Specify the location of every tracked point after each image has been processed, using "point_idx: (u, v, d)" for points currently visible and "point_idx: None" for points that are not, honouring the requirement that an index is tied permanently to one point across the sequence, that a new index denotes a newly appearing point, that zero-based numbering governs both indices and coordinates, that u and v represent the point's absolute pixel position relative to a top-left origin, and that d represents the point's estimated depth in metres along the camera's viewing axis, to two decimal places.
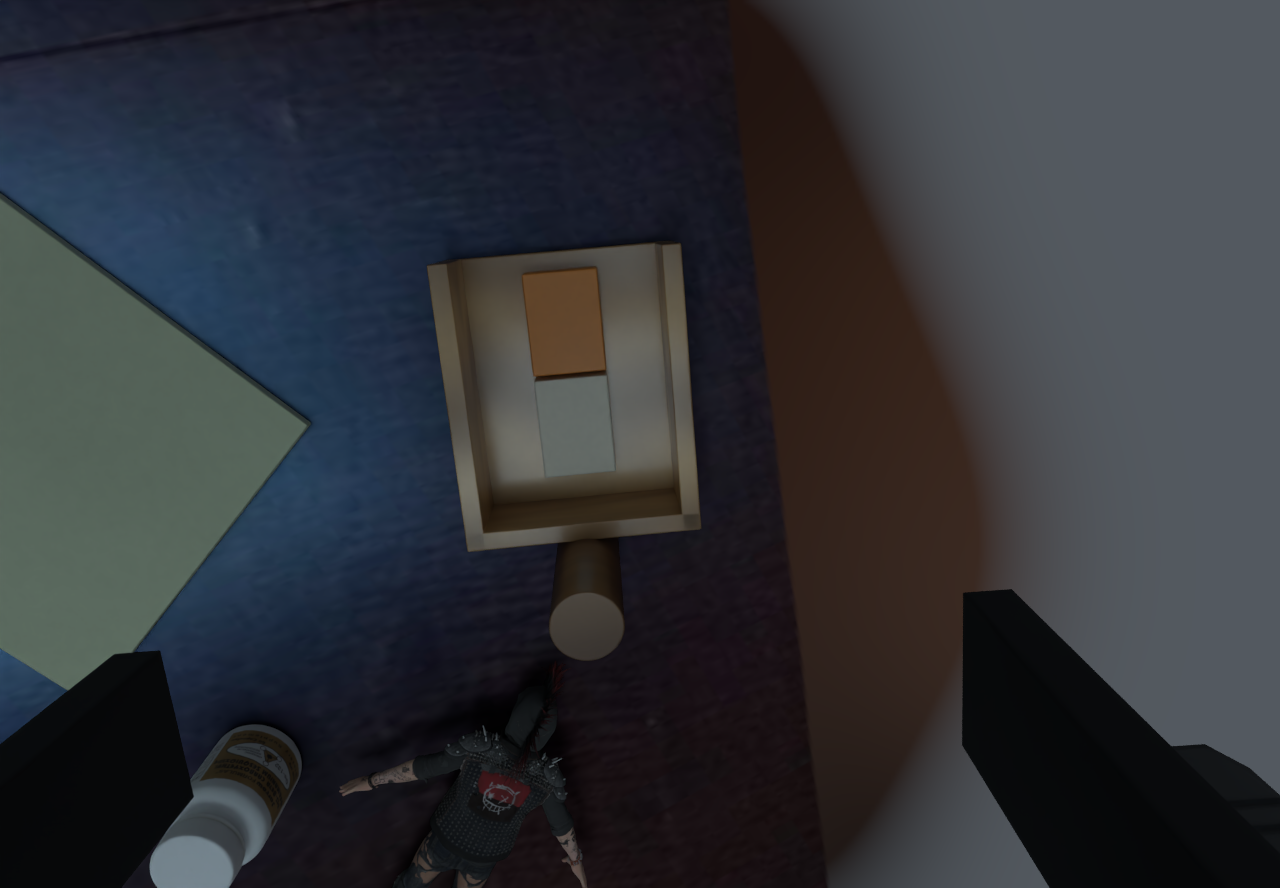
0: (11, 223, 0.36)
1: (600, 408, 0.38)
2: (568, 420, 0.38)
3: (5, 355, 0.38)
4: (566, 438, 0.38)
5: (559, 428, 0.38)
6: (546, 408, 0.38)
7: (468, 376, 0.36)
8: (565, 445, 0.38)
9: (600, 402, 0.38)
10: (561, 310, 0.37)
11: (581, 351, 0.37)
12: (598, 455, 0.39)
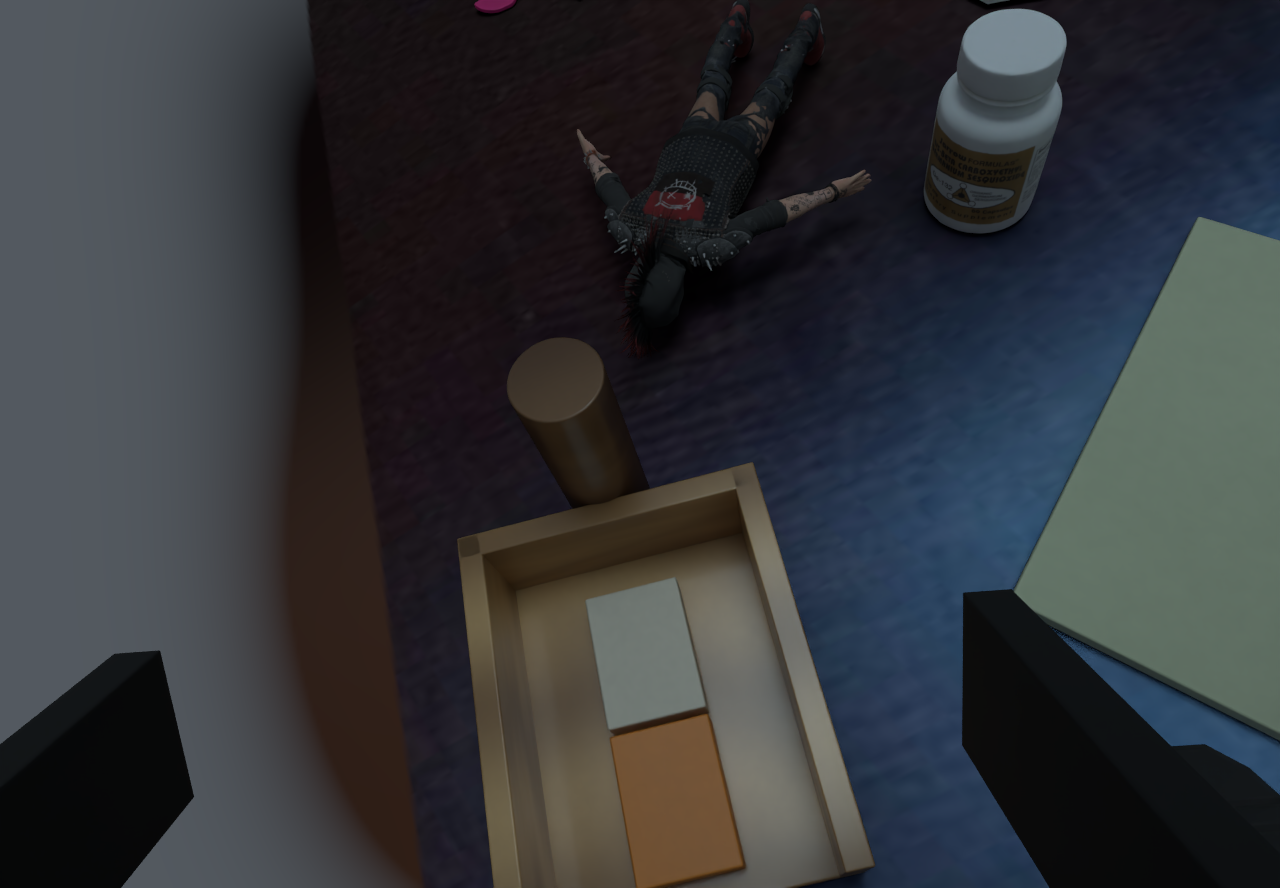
0: None
1: (612, 681, 0.28)
2: (653, 658, 0.28)
3: None
4: (652, 633, 0.28)
5: (664, 645, 0.28)
6: (684, 670, 0.28)
7: (793, 700, 0.26)
8: (653, 623, 0.29)
9: (612, 690, 0.28)
10: (679, 817, 0.26)
11: (645, 759, 0.27)
12: (609, 616, 0.29)
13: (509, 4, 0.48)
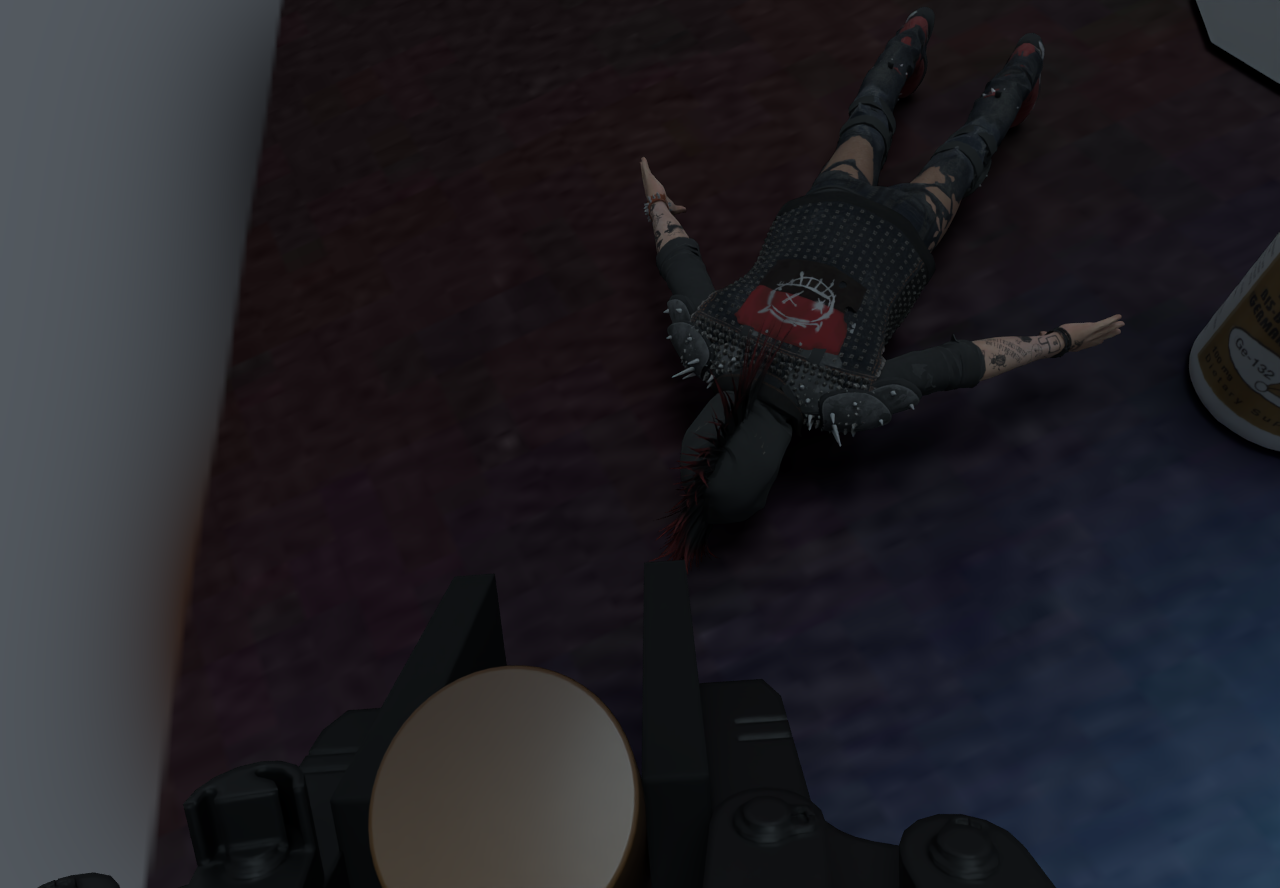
0: None
1: None
2: None
3: None
4: None
5: None
6: None
7: None
8: None
9: None
10: None
11: None
12: None
13: None
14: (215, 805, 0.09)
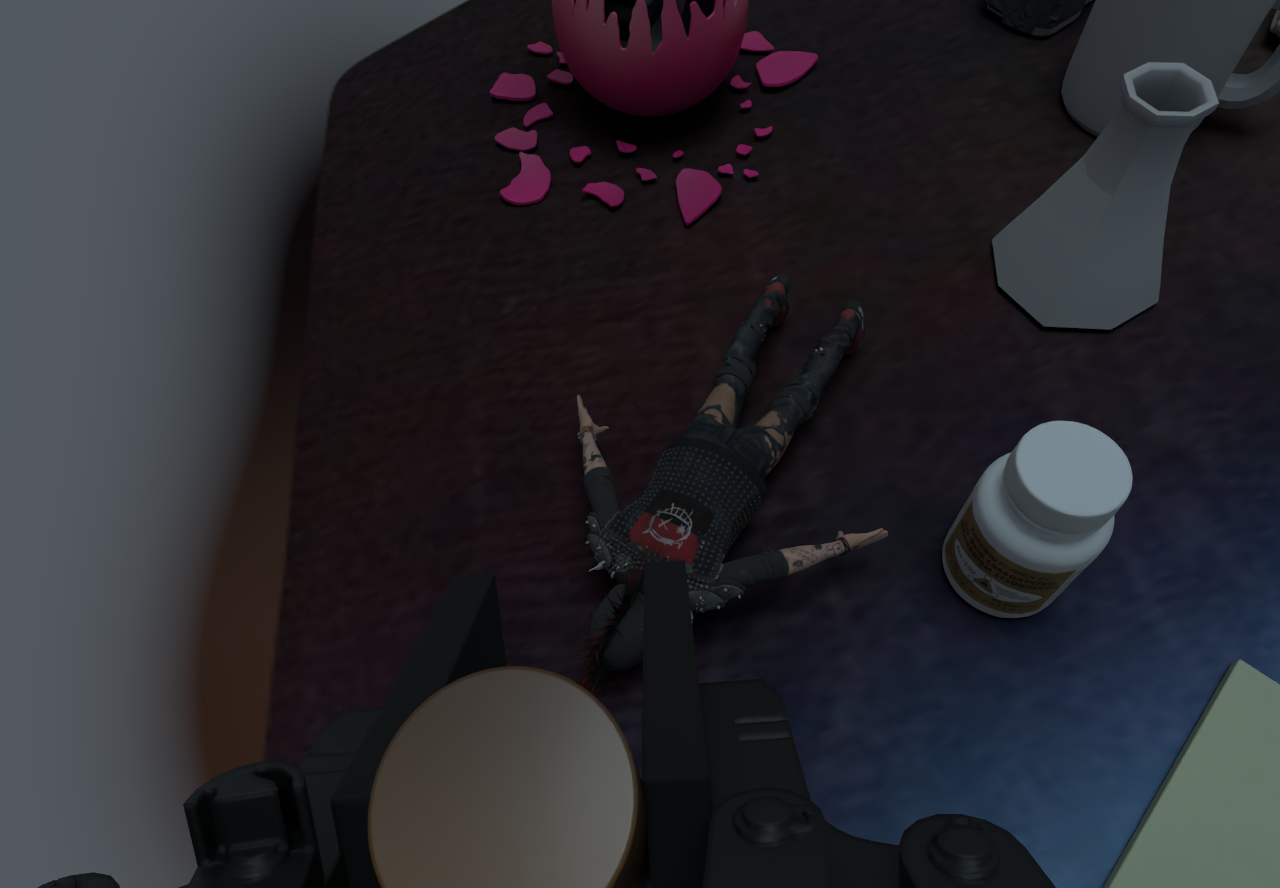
0: None
1: None
2: None
3: None
4: None
5: None
6: None
7: None
8: None
9: None
10: None
11: None
12: None
13: (537, 199, 0.45)
14: (215, 805, 0.09)
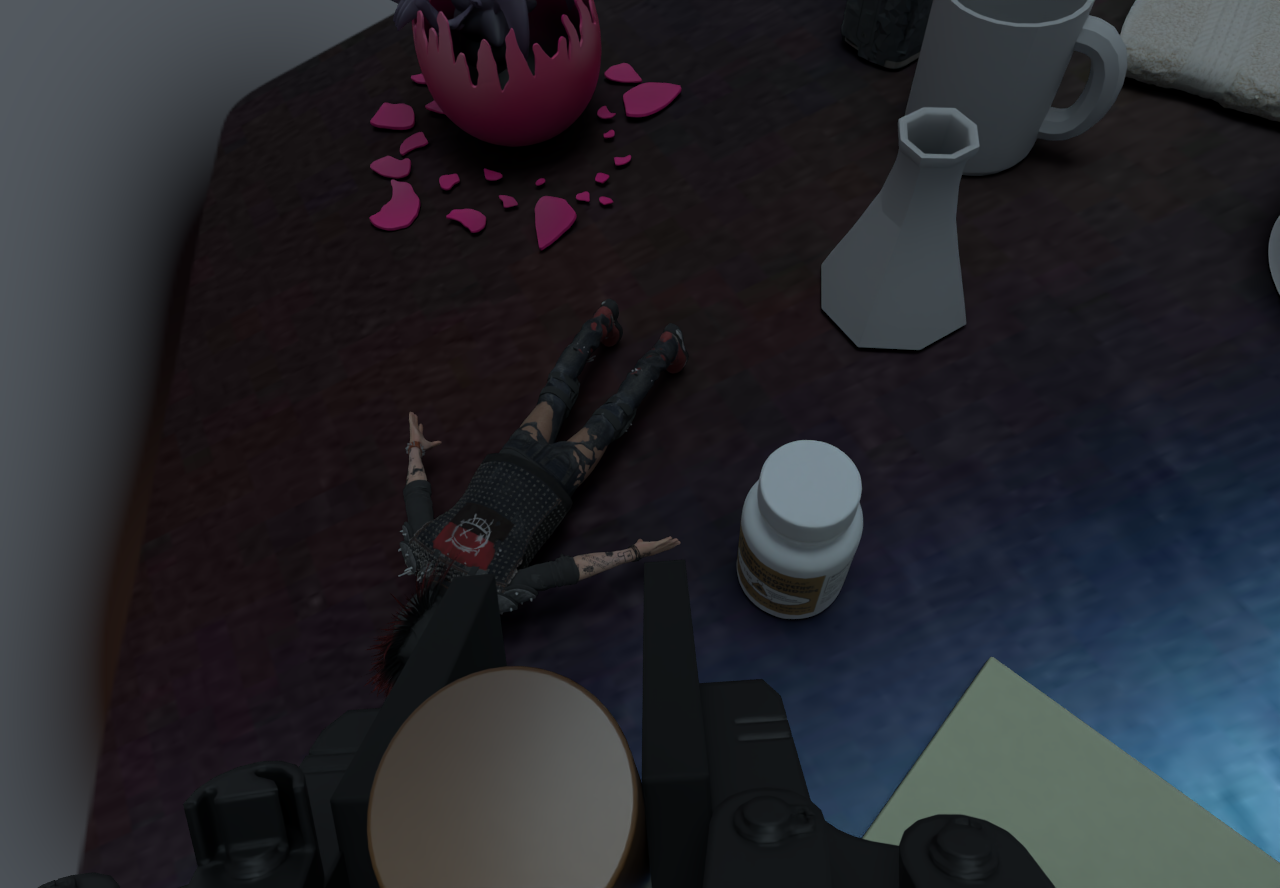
0: None
1: None
2: None
3: None
4: None
5: None
6: None
7: None
8: None
9: None
10: None
11: None
12: None
13: (405, 224, 0.47)
14: (215, 805, 0.09)
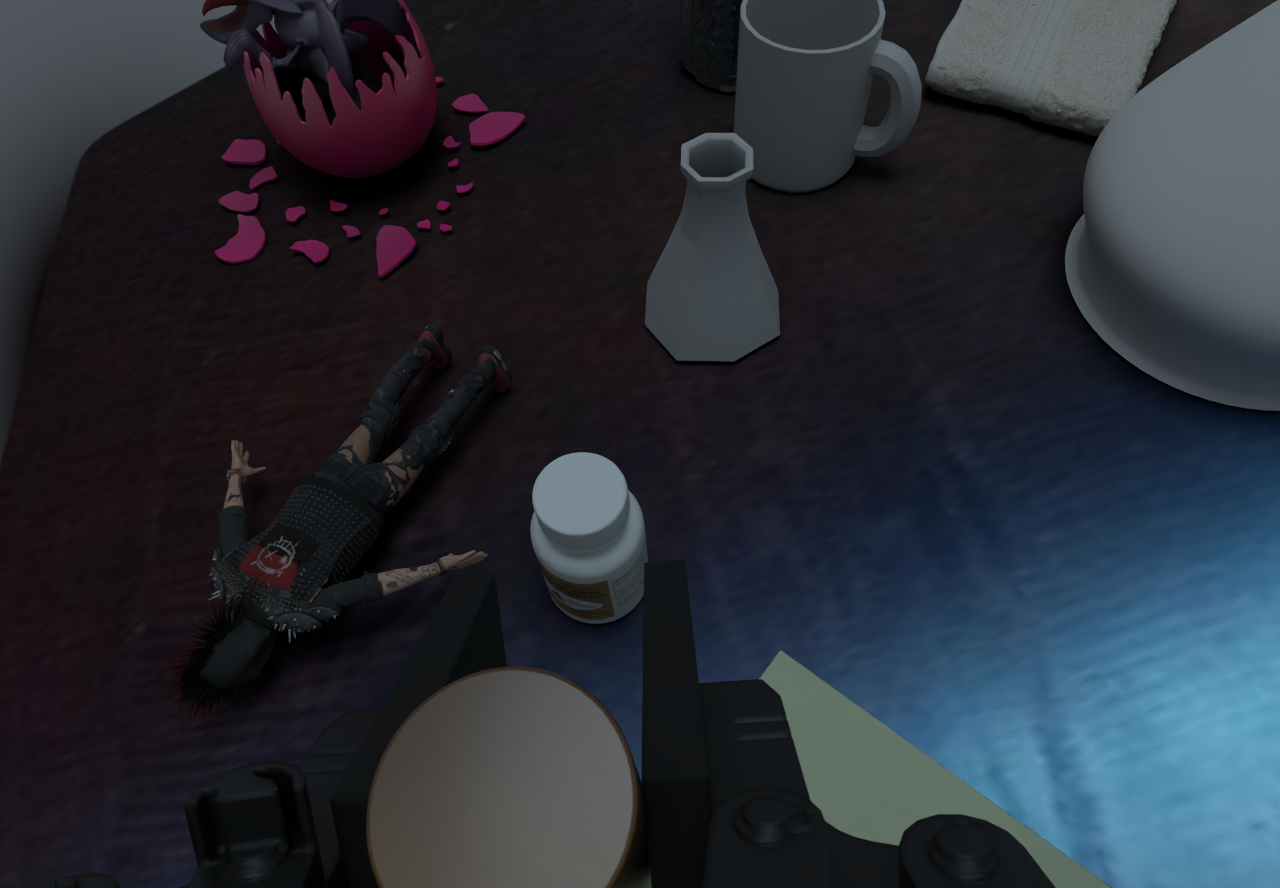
0: None
1: None
2: None
3: None
4: None
5: None
6: None
7: None
8: None
9: None
10: None
11: None
12: None
13: (250, 257, 0.49)
14: (215, 805, 0.09)
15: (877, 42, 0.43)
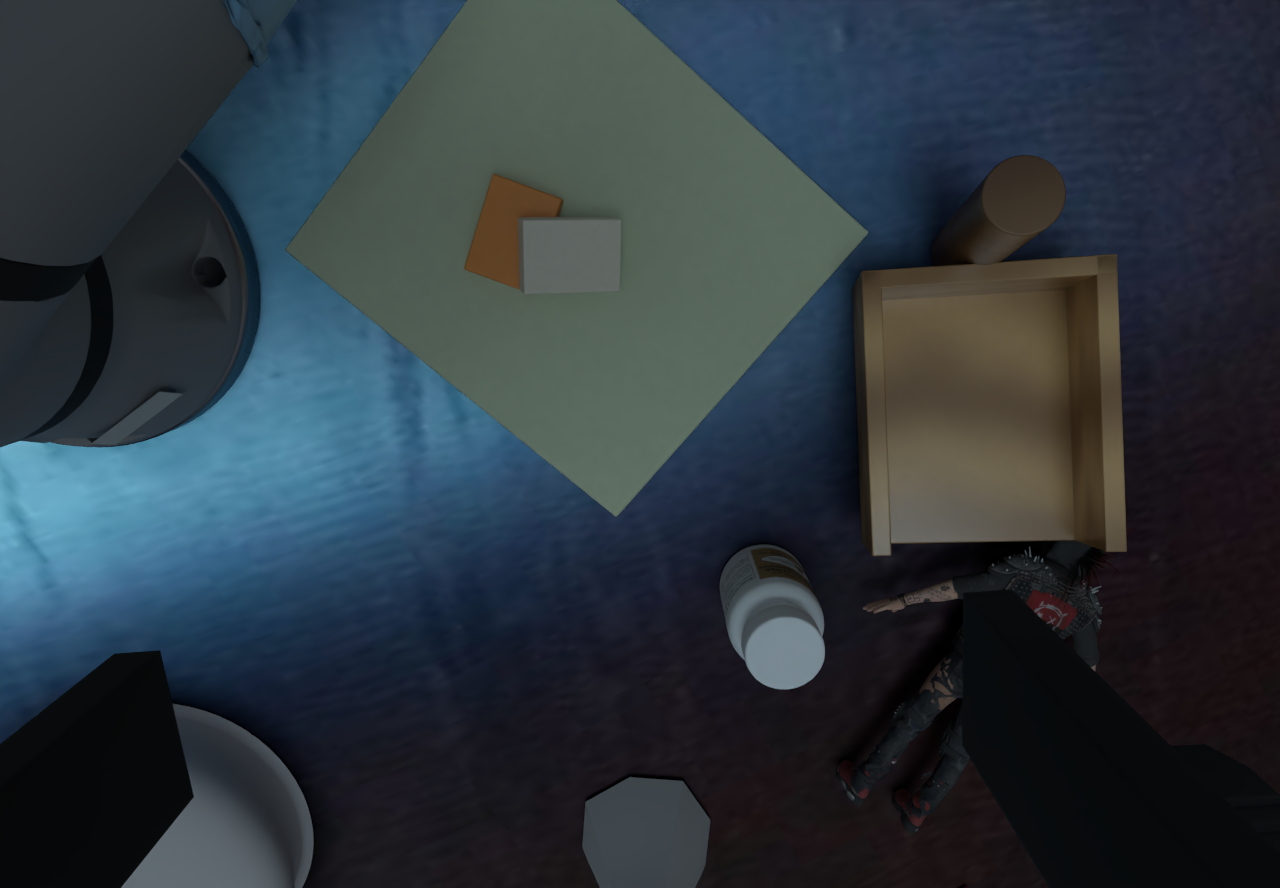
0: (619, 22, 0.38)
1: None
2: None
3: (593, 156, 0.39)
4: None
5: None
6: None
7: (1088, 434, 0.37)
8: None
9: None
10: None
11: None
12: None
13: None
14: None
15: None
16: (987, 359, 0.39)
